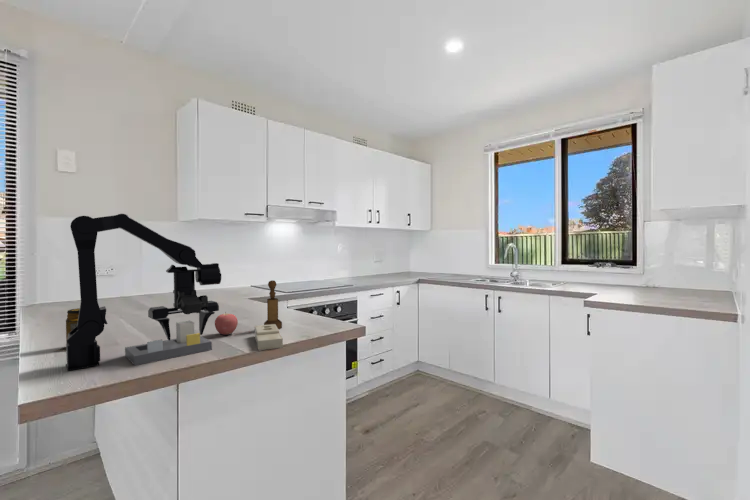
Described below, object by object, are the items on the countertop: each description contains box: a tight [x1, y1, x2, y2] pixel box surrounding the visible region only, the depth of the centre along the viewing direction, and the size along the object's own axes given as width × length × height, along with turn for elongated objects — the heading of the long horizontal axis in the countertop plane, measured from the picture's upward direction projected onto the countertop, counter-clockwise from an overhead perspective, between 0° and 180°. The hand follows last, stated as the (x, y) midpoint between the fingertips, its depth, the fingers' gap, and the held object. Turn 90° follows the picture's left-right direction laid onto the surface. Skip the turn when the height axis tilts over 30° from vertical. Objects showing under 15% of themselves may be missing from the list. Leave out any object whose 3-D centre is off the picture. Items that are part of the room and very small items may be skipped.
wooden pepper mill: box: [263, 280, 283, 330], centre depth 141 cm, size 7×6×18 cm
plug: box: [175, 320, 196, 344], centre depth 115 cm, size 4×4×8 cm
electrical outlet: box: [254, 324, 284, 351], centre depth 122 cm, size 7×4×18 cm
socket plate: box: [124, 332, 213, 366], centre depth 111 cm, size 20×12×6 cm, turn 134°
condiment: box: [54, 307, 80, 352], centre depth 118 cm, size 7×8×12 cm
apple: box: [214, 311, 239, 336], centre depth 132 cm, size 7×7×8 cm
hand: (185, 337), depth 115 cm, fingers open, 9 cm apart
